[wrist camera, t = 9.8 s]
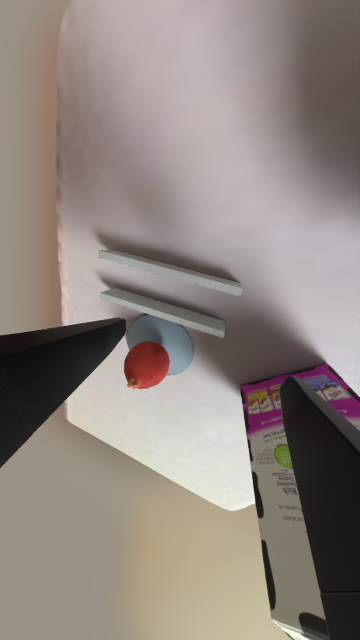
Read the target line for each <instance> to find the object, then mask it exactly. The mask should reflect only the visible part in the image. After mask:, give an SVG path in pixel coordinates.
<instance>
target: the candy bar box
mask: <svg viewBox="0 0 360 640" xmlns="http://www.w3.org/2000/svg"><path fill="white" fill-rule="evenodd" d="M288 376H294V377H297V378H300V379H301V380H302V381H303V382H305V383H306V384H307V385H308V386H309V387H310V388H311V389H313V390H314V391H315V392H316V393H317V394H318V395H319V396H321V397H322V398H323V399H324V400H325V401H326V402H328V403H329V404H330V405H331V406H332V407H333V408H334V409H336V410H337V411H338V412H339V413H340V414H341V415H342V416H344V417H345V418H346V419H347V420H348V421H349V422H350V423H352V424H353V425H354V426H355V427H356V428H357V429H358V430H360V397H359V396H358V395H357V394H356V393H355V392H354V391H353V390H352V389H351V388H350V387H349V386H348V385H347V384H346V382H345V381H344V380H343V379H342V378H341V377H340V376H339V375H338V374H337V373H336V372H335V370H334V369H333V368H332V367H331V366H329V365H328V364H323V365H320V366H316V367H312V368H308V369H304V370H300V371H296V372H292V373H289V374H285V375H281V376H277V377H274V378H270V379H266V380H262V381H259V382H255V383H251V384H247V385H243V386H240V389H241V398H242V404H243V412H244V420H245V427H246V435H247V441H248V448H249V456H250V464H251V472H252V478H253V487H254V494H255V502H256V509H257V515H258V523H259V530H260V537H261V543H262V553H263V561H264V568H265V576H266V583H267V590H268V597H269V603H270V611H271V617H272V620H273V621H274V622H275V623H276V624H277V625H278V626H279V627H280V628H281V629H282V630H283V631H284V632H285V633H286V634H287V635H288V636H289V637H290V638H291V639H292V640H330V638H329V633H328V629H327V624H326V620H325V615H324V610H323V606H322V601H321V597H320V590H319V587H318V582H317V577H316V573H315V568H314V564H313V559H312V554H311V550H310V545H309V541H308V536H307V531H306V527H305V522H304V518H303V513H302V508H301V504H300V499H299V495H298V490H297V485H296V481H295V476H294V472H293V467H292V462H291V458H290V453H289V448H288V444H287V439H286V435H285V430H284V425H283V419H282V410H281V401H280V392H279V390H280V386H281V385H282V383H283V382H284V381H285V380H286V378H287V377H288Z"/></svg>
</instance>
